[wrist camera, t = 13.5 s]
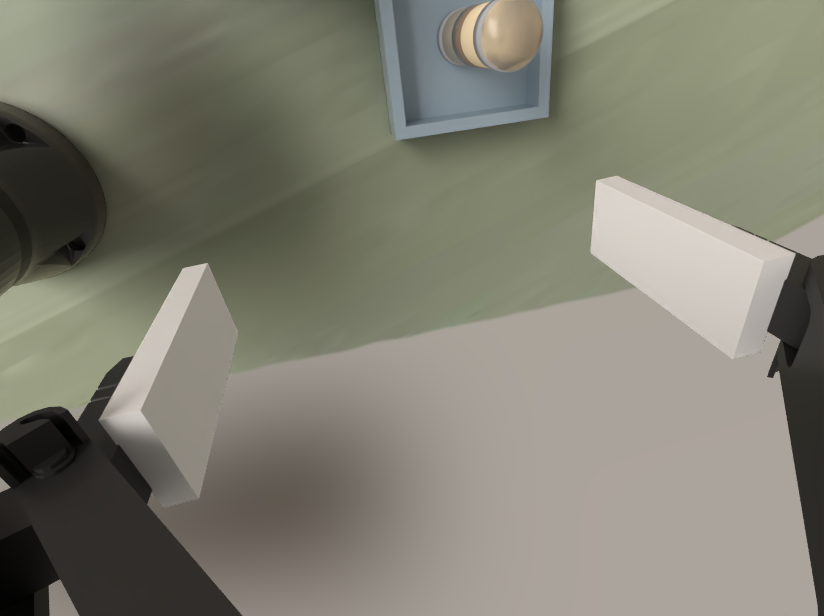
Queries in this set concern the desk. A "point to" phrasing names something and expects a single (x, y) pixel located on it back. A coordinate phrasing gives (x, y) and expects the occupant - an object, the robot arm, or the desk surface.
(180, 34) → the desk surface
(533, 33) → the fuse
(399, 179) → the desk surface
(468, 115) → the parts tray
